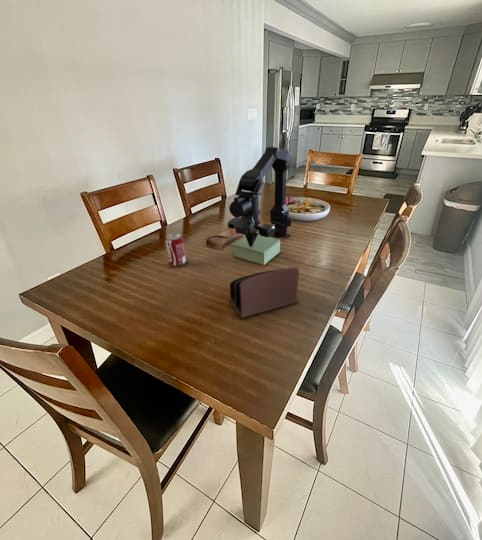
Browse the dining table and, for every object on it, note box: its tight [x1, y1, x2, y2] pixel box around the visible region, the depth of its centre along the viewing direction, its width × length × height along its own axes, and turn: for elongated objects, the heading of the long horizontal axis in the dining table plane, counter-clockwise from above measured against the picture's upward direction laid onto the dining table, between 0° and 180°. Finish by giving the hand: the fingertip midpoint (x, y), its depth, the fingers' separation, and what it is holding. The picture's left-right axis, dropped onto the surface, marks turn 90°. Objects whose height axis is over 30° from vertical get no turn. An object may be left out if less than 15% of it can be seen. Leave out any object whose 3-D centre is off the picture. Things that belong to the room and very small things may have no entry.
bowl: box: [285, 195, 331, 222], centre depth 167 cm, size 30×30×8 cm
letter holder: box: [229, 267, 300, 319], centre depth 93 cm, size 10×20×14 cm, turn 114°
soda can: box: [165, 233, 187, 267], centre depth 117 cm, size 7×7×12 cm
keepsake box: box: [234, 241, 281, 266], centre depth 124 cm, size 13×14×6 cm
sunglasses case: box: [205, 227, 243, 249], centre depth 138 cm, size 18×7×7 cm
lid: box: [234, 234, 281, 254], centre depth 122 cm, size 14×14×1 cm
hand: (251, 246), depth 118 cm, fingers closed, pressing on lid
